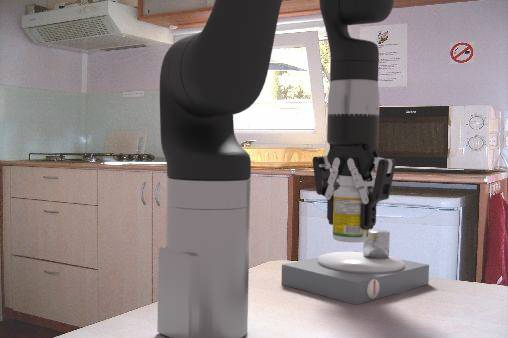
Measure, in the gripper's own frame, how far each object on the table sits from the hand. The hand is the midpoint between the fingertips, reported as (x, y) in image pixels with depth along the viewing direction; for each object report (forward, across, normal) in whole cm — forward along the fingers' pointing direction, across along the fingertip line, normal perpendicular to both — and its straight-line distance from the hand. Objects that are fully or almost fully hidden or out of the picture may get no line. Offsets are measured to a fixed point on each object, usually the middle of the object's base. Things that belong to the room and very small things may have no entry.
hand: (350, 226), depth 86 cm
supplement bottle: (+2, 0, 0) cm, 2 cm away
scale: (+9, 0, -2) cm, 9 cm away
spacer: (+5, 0, -7) cm, 9 cm away
